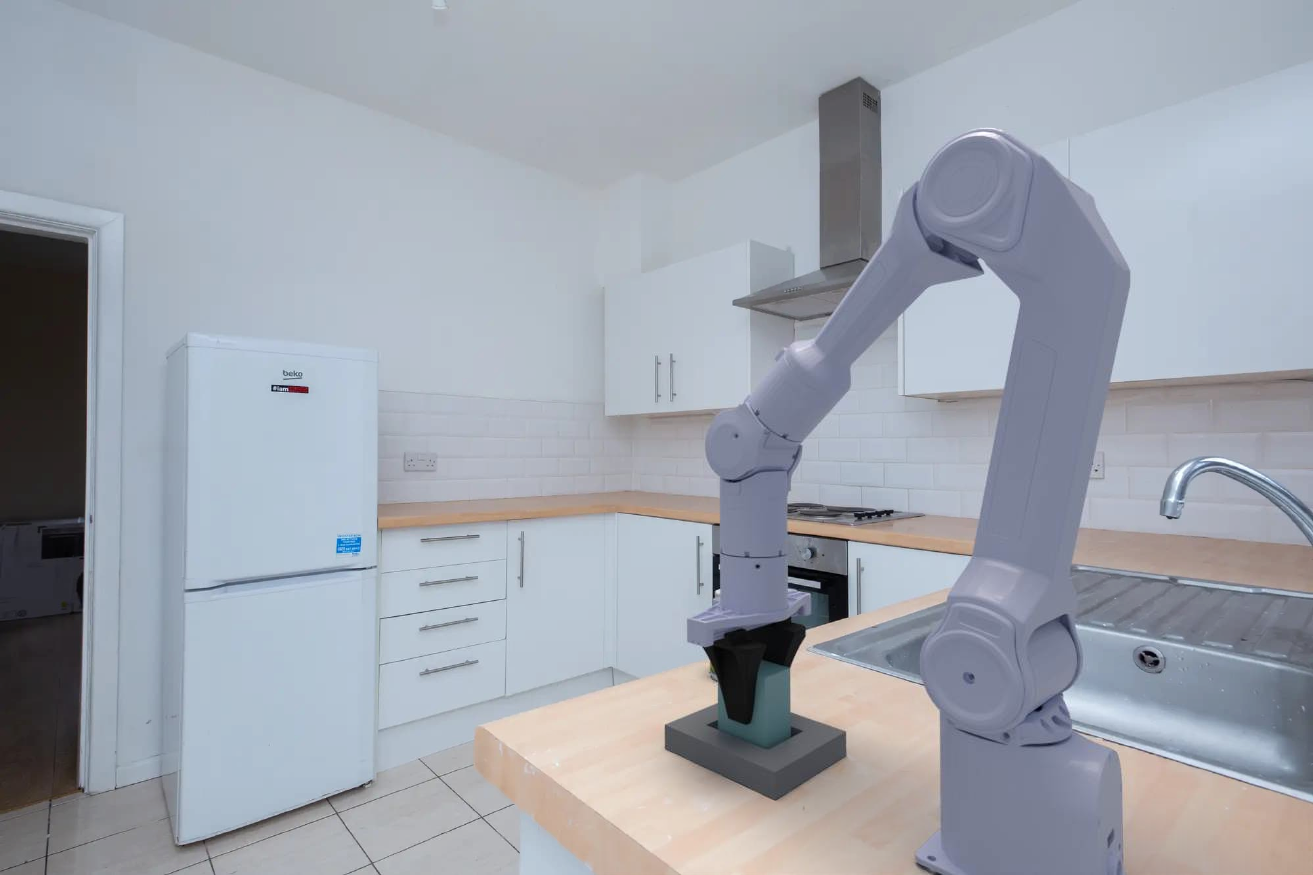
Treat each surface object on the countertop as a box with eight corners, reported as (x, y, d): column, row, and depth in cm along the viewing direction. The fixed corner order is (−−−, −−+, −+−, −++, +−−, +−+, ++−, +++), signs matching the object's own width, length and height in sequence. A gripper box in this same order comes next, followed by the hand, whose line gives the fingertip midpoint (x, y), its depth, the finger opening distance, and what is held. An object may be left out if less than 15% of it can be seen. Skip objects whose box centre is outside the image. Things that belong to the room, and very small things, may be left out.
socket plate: (846, 755, 54) (846, 731, 54) (775, 800, 48) (775, 772, 48) (738, 715, 63) (738, 694, 63) (664, 748, 56) (664, 724, 56)
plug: (790, 740, 55) (790, 667, 55) (765, 753, 52) (765, 678, 52) (743, 722, 58) (743, 654, 58) (718, 734, 56) (717, 663, 56)
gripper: (766, 540, 63) (767, 680, 63) (659, 557, 53) (660, 724, 53) (830, 547, 58) (831, 700, 58) (726, 568, 48) (726, 753, 48)
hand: (754, 713), depth 55 cm, fingers closed on plug, 3 cm apart
